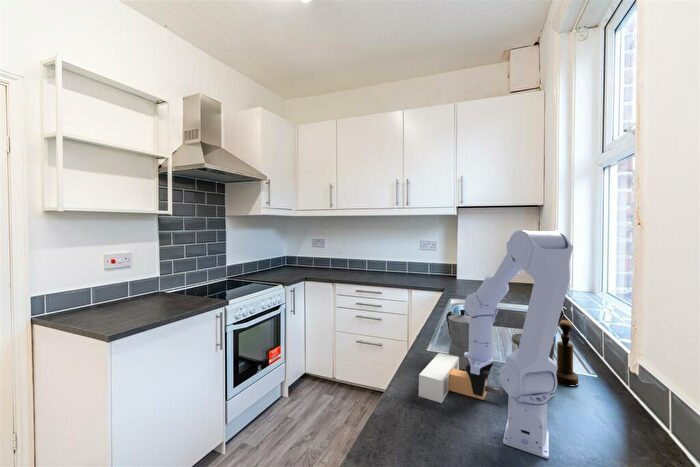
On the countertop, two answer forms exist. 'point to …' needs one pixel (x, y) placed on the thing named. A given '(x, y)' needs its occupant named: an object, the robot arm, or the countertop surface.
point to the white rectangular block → (437, 377)
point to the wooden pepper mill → (565, 357)
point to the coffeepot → (459, 336)
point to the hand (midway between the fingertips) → (479, 390)
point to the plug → (467, 384)
